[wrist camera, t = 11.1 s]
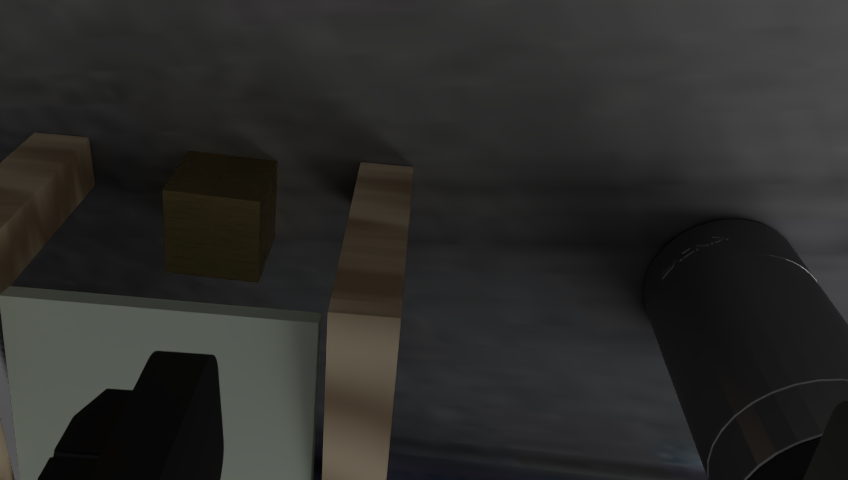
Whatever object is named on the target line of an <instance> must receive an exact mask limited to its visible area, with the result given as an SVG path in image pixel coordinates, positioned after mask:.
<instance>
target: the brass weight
mask: <svg viewBox="0 0 848 480" xmlns="http://www.w3.org/2000/svg"><path fill="white" fill-rule="evenodd" d="M277 164H278V161H269V160H261V159H253V158H245V157H236V156H228V155H220V154H212V153H203V152H195V151H188V152H187V154H186V155H185V157H184V158H183V160H182V161H181V163H180V164H179V166H178V167H177V169H176V170H175V172H174V173H173V175H172V176H171V177H170V179H169V180H168V182H167V183H166V185H165V186H164V188H163V189H162V201H163V223H164V244H165V265H166V272H170V273H178V274H187V275H196V276H204V277H213V278H222V279H230V280H239V281H248V282H256V283H258V282H259V279H260V277H261V274H262V271H263V269H264V266H265V263H266V260H267V258H268V255H269V252H270V250H271V247H272V244H273V241H274V239H275V223H276V193H277Z"/></svg>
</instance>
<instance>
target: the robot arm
mask: <svg viewBox="0 0 848 480" xmlns="http://www.w3.org/2000/svg"><path fill="white" fill-rule="evenodd" d="M643 298H644V303H645V309H646V311H647V314H648V317H649V319H650V322H651V325H652V328H653V330H654V333H655V336H656V338H657V341H658V344H659V347H660V350H661V353H662V356H663V358H664V361H665V364H666V366H667V369H668V372H669V375H670V377H671V380H672V383H673V385H674V388H675V391H676V394H677V396H678V399H679V402H680V404H681V407H682V410H683V412H684V415H685V418H686V421H687V423H688V426H689V429H690V431H691V434H692V437H693V440H694V442H695V445H696V448H697V450H698V453H699V456H700V459H701V461H702V464H703V467H704V469H705V472H706V475H707V478H708V480H848V324H847V323H846V321H845V320H844V319H843V317H842V316H841V314H840V313H839V312H838V310H837V309H836V307H835V306H834V305H833V303H832V302H831V301H830V299H829V298H828V296H827V295H826V294H825V292H824V291H823V289H822V288H821V287H820V285H819V284H818V282H817V281H816V279H815V278H814V277H813V275H812V274H811V272H810V271H809V270H808V268H807V267H806V266H805V264H804V263H803V261H802V260H801V259H800V257H799V256H798V255H797V253H796V252H795V251H794V249H793V248H792V246H791V245H790V244H789V242H788V241H787V240H786V239H785V238H784V237H783V236H782V235H781V234H779V233H778V232H777V231H776V230H774V229H772V228H770V227H768V226H766V225H764V224H761V223H757V222H753V221H749V220H739V219H727V220H719V221H712V222H709V223H706V224H703V225H699V226H696V227H694V228H692V229H690V230H688V231H686V232H684V233H682V234H681V235H679V236H678V237H677V238H675V239H674V240H673V241H671V242H670V243H669V244H667V245H666V246H665V247H664V249H663V250H662V251H661V252H660V253H659V254H658V255H657V256H656V258H655V259H654V261H653V263H652V264H651V266H650V268H649V269H648V272H647V275H646V278H645V281H644V290H643ZM223 456H224V437H223V424H222V411H221V398H220V385H219V372H218V363H217V359H216V357H215V355H212V354H198V353H183V352H169V351H155V352H153V353H152V354H151V356H150V357H149V359H148V361H147V363H146V365H145V367H144V369H143V371H142V373H141V375H140V377H139V379H138V381H137V383H136V385H135V387H134V389H133V390H122V389H108V388H107V389H106V390H104V391H103V392H102V393H101V394H100V395H98V396H97V397H96V398H95V399H94V400H92V401H91V402H90V403H89V404H88V405H86V406H85V407H84V408H83V409H82V410H80V411H79V412H78V413H77V414H76V415H74V416H73V418H72V420H71V421H70V423H69V425H68V427H67V428H66V430H65V432H64V434H63V435H62V437H61V439H60V441H59V442H58V444H57V446H56V448H55V449H54V455H53V457H50V458H49V460H48V461H47V463H46V465H45V467H44V468H43V470H42V472H41V474H40V475H39V477H38V480H220V479H221V473H222V466H223Z"/></svg>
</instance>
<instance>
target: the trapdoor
mask: <svg viewBox="0 0 848 480" xmlns="http://www.w3.org/2000/svg"><path fill="white" fill-rule="evenodd" d="M0 312H1V320H2V329H3V338H4V346H5V355H6V363H7V372H8V381H9V389H10V398H11V407H12V415H13V424H14V433H15V441H16V450H17V458H18V467H19V475H20V480H38V477H39V475H40V474H41V472H42V470H43V468H44V467H45V465H46V463H47V461H48V460H49V458H50V457H53V455H54V449H55V448H56V446H57V444H58V442H59V441H60V439H61V437H62V435H63V434H64V432H65V430H66V428H67V427H68V425H69V423H70V421H71V420H72V418H73V416H74V415H76V414H77V413H78V412H79V411H80V410H82V409H83V408H84V407H85V406H86V405H88V404H89V403H90V402H91V401H92V400H94V399H95V398H96V397H97V396H98V395H100V394H101V393H102V392H103V391H104V390H106V389H107V388H108V389H122V390H133V389H134V387H135V385H136V383H137V381H138V379H139V377H140V375H141V373H142V371H143V369H144V367H145V365H146V363H147V361H148V359H149V357H150V356H151V354H152V353H153V352H155V351H169V352H183V353H198V354H212V355H215V357H216V359H217V363H218V372H219V385H220V398H221V411H222V424H223V437H224V456H223V466H222V473H221V479H220V480H313V473H314V453H315V433H316V412H317V392H318V372H319V352H320V332H321V313H317V312H305V311H294V310H282V309H270V308H259V307H247V306H236V305H224V304H213V303H201V302H190V301H178V300H166V299H155V298H143V297H132V296H120V295H109V294H97V293H86V292H74V291H63V290H51V289H39V288H28V287H16V286H9V287H8V288H7V289H6V290H5V291H3V292H2V293H1V294H0Z"/></svg>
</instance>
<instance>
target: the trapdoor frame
mask: <svg viewBox="0 0 848 480" xmlns="http://www.w3.org/2000/svg"><path fill="white" fill-rule="evenodd" d="M413 169H414V167H410V166H399V165H388V164H377V163H366V162H360V167H359V171H358V176H357V181H356V185H355V190H354V194H353V199H352V203H351V208H350V213H349V217H348V222H347V226H346V231H345V235H344V240H343V245H342V249H341V254H340V258H339V263H338V267H337V272H336V277H335V281H334V286H333V290H332V295H331V299H330V304H329V309H328V319H327V348H326V377H325V406H324V435H323V463H322V480H386V478H387V467H388V456H389V445H390V434H391V423H392V412H393V401H394V390H395V379H396V369H397V358H398V347H399V336H400V325H401V314H402V301H403V289H404V277H405V265H406V253H407V241H408V229H409V217H410V205H411V193H412V181H413ZM94 186H95V180H94V172H93V164H92V157H91V149H90V142H89V137H81V136H70V135H59V134H48V133H37V132H35V133H33V134H32V135H31V136H30V137H29V138H28V139H27V140H26V141H24V142H23V143H22V144H21V145H20V146H19V147H18V148H16V149H15V150H14V151H13V152H12V153H11V154H10V155H9V156H7V157H6V158H5V159H4V160H3V161H2V162H1V163H0V294H1V293H2V292H3V291H5V290H6V289H7V288H8V287H9V286H11V285H12V283H13V282H14V281H15V280H16V279H17V278H18V276H19V275H20V274H21V273H22V272H23V270H24V269H25V268H26V267H27V266H28V264H29V263H30V262H31V261H32V260H33V259H34V257H35V256H36V255H37V254H38V253H39V251H40V250H41V249H42V248H43V247H44V245H45V244H46V243H47V242H48V241H49V240H50V238H51V237H52V236H53V235H54V234H55V232H56V231H57V230H58V229H59V228H60V226H61V225H62V224H63V223H64V222H65V221H66V219H67V218H68V217H69V216H70V215H71V213H72V212H73V211H74V210H75V209H76V207H77V206H78V205H79V204H80V203H81V202H82V200H83V199H84V198H85V197H86V196H87V194H88V193H89V192H90V191H91V190H92V188H93V187H94ZM0 480H15V479H14V475H13V471H12V466H11V462H10V458H9V454H8V450H7V445H6V441H5V437H4V433H3V429H2V425H1V420H0Z"/></svg>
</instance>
